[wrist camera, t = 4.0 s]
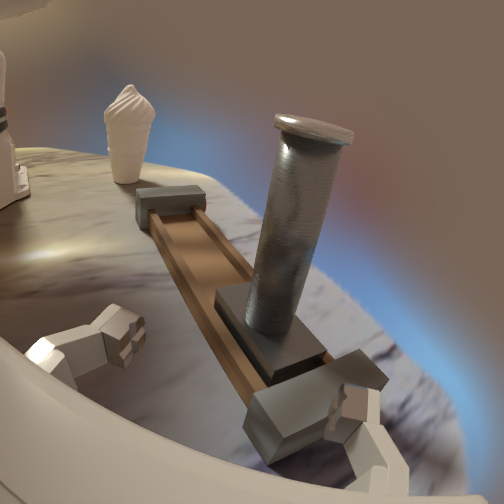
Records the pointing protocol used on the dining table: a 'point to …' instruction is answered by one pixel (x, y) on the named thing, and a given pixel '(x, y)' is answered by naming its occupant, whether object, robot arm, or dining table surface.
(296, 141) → the carriage
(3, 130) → the robot arm
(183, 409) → the dining table surface
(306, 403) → the rail
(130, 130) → the soft serve ice cream cone
